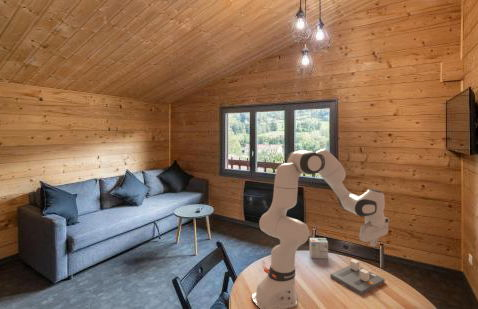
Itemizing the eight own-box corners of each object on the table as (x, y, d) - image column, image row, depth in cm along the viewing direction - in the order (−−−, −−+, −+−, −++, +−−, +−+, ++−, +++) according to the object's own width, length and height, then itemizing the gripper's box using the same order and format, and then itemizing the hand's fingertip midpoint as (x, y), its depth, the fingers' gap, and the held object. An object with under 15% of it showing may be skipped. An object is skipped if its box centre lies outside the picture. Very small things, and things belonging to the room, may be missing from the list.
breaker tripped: (365, 281, 129) (365, 273, 129) (359, 278, 132) (359, 270, 132) (369, 280, 131) (369, 271, 130) (362, 276, 134) (363, 268, 133)
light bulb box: (325, 253, 164) (326, 237, 163) (328, 259, 158) (328, 242, 157) (308, 253, 165) (309, 237, 164) (310, 258, 159) (311, 241, 158)
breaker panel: (361, 295, 122) (361, 290, 122) (330, 277, 138) (330, 273, 138) (384, 282, 133) (384, 278, 132) (353, 267, 148) (353, 263, 148)
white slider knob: (355, 270, 140) (355, 263, 139) (350, 268, 142) (350, 260, 142) (359, 269, 141) (359, 261, 141) (353, 266, 144) (353, 259, 144)
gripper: (368, 225, 125) (367, 253, 126) (391, 218, 135) (390, 243, 136) (356, 222, 130) (355, 248, 131) (379, 215, 140) (378, 239, 142)
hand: (373, 245), depth 134 cm, fingers closed
